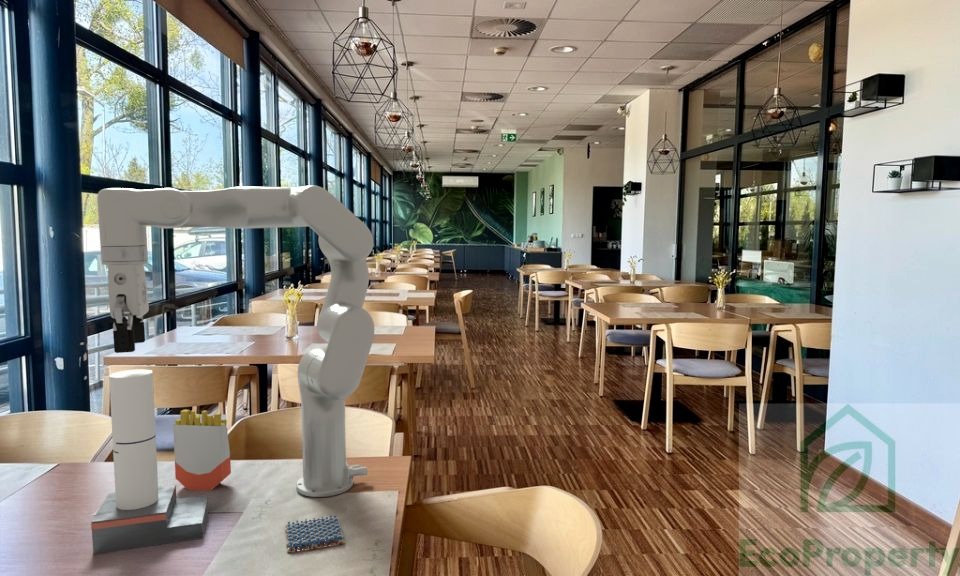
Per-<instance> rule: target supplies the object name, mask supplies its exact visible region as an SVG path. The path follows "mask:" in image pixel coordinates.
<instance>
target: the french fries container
mask: <svg viewBox="0 0 960 576" xmlns="http://www.w3.org/2000/svg"><path fill="white" fill-rule="evenodd" d="M174 421H175V422H174V424H172V430H173V448H174V449H173V452H174V471H175V472H174V473H175V480H177V481H178V483H180V484H181V486H183V487H184V488H185V489H186V490H187V489H188V490H191V491H210V490H213V489H214V488H216V487H217V486H218V485H220V484H221V483H222V482H223V481H224V480H225V479H226V478H228V476H230V475H231V473H232V468H231V467H232V465H231V464H232V463H231V452H230V451H231V449H230V443H229V435H228V434H229V433H228V427H227V421H228V420H227V419H226V418H225V419H224V418H223V419H222V412H221V413H220V412H216V413H214V414H213V415H212V414H208V410H202V411H201V416H200V414H198V413H196V410H195V409H193V410H190V409H183V410H180V418H179V419H176V420H174ZM219 483H220V484H219Z"/></svg>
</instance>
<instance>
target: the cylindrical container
mask: <svg viewBox="0 0 960 576" xmlns="http://www.w3.org/2000/svg"><path fill="white" fill-rule="evenodd" d="M153 375H154V372H153V370H151V369H139V368H138V369H127V370H121V371H116V372H113V373H111V374H109V375H108V379H109V398H110V413H111V414H110V417H111V420H110V421H111V433H112V434H111V435H112V450H113V451H112V455H113V469H114V470H113V471H114V472H113V473H114V476H113V477H114V492H115V495H116V507H117V508H118V509H122V510H134V509H140V508H144V507H147V506H149V505H152V504H154V503H155V502H156V501H157V500H158V499H159V497H158V487H159V481H158V480H159V479H158V478H159V477H158V459H157V458H158V457H157V456H158V455H157V454H158V453H157V437H156V418H155V417H156V414H155V396H154V395H155V394H154V393H155V392H154V376H153Z"/></svg>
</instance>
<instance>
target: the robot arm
mask: <svg viewBox="0 0 960 576" xmlns="http://www.w3.org/2000/svg"><path fill="white" fill-rule="evenodd" d="M96 198H97V200H96V202H97V216H98V231H99V232H98V233H99V241H100V242H99V244H100V245H99V246H100V259H101V260H100V261H101V265H103V266H104V265H106V266H107V285H108V286H107V290H108V304H109V305H108V306H109V315H110V317H111V318H112V319H113V320H112V321H113V324H112V330H113V331H112V334H113V335H112V336H113V346H114V347H113V348H114V349H113V350H114V353H116V354H119V353H120V354H121V353H134V352H135V351H136V344H139V343H140V344H141V343H144V342H145V341H146V334H145V333H146V331H145V322H144V316H145V315H146V314H147V313H148V312H149V310H150V307H149V296H148V295H149V294H148V287H147V285H148V284H147V277H146V271H145V267H144V266H145V265H144V264H149V253H148V251H149V250H148V237H147V227H155V228H158V229H180V228H181V229H182V228H185V229H186V228H225V229H236V230H238V229H271V228H302V227H303V228H304V227H305V228H306V227H309V229H311V230H313V232H314V233H315V234H317V236H318V245H319V249H320V250H321V252H322V254H323V255H324V256H325V258H326V259H327V261H328V263H329V266H330V267H329V268H330V272H331V273H330V274H331V275H330V280H329V285H328V289H327V292H326V295H325V297H324V300H323V304H322V306H321V309H320V313H319V315H318V319H317V322H316V330H317V331H316V332H317V333H318V335H319V336H320V338H321V339H322V340H324V341H325V342H327V345H326V346H327V347H316V348H313V349H310V350H308V351H306V352H305V354H303V355H302V357H301V359H300V361H299V363H298V366H297V381H298V382H297V383H298V390H299V394H300V404H301V406H300V407H301V444H302V445H301V446H302V449H301V451H302V477H301V478H299V479H297V481H296V484H295V488H296V492H298V493H299V494H301V495H302V496H307V497H311V498H312V497H313V498H325V497H331V496H332V497H333V496H336V495H340V494H343V493H345V492H347V491H349V490H350V489H351V488H352V487H353V485H354V477H358V476H359V477H363V476H368V468H367V466H361V465H360V464H354V465H350V464H348V462H347V455H346V453H347V452H346V451H347V450H346V449H347V448H346V447H347V446H346V404H345V399H346V398H348V397H350V396H351V395H353V393H354V392H355V391H356V390H357V388H358V386H359V384H360V383H361V380H362V377H363V373H364V371H365V367H366V365H367V361H368V357H369V355H370V352H371V348H372V345H373V343H374V339H375V322H374V320H373V317H372V315H371V314H370V313H369V312H368V311H367V310H366V309H364V308H363V307H364V304H365V299H366V296H367V291H368V290H369V289H368V288H369V282H370V273H369V272H370V271H369V267H368V262H367V261H366V258H368V257H369V255H370V254H371V253H372V251H373V248H374V237H373V234H372V232H371V230H370V229H369V227H368V226H367V225H366V224H365V223H364V222H363V221H362V220H361V219H360V218H358V216H356V215H355V214H354V213H353V212H352V211H351V210H350V209H349V208H348V207H346V206H345V205H344V204H343V203H342V202H341V201H340V200H338V198H337V197H335V196H334V195H333V194H332V193H331V192H329V190H327V189H325V188H323V187H321V186H318V185H314V184H313V185H312V184H311V185H304V186H234V187H227V188H224V189H223V188H221V189H215V190H214V189H212V190H179V189H176V188H172V187H164V188H163V187H161V188H153V189H152V188H151V189H136V188H128V187H127V188H126V187H125V188H124V187H122V188H121V187H110V188H109V187H108V188H103V189H100V190H99V191H98V193H97V197H96Z"/></svg>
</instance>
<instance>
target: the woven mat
mask: <svg viewBox="0 0 960 576" xmlns="http://www.w3.org/2000/svg"><path fill="white" fill-rule="evenodd" d="M295 521H296V522H295ZM295 521H292V524H291V523H290V522H291V521H287V524H286V525H285V529H284V530H285V531H284V532H285V538H286V539H287V543H286V544H285V546H287V548H286V552H287V553H289V552H292V553H298V552H297V549H298V550H300V551H299V552H302V551H301V550H302V549H303V550H305V549H311V550H316V549H319V548H318V547H323V548H325V547H324V546H329V545H335V546H339V545H340V546H341V545H344V544H345V543H346V540H344V539H343V538H344V533H343V532H342V531H343V529H342V525H341V523H340V519H339V517H337V516H336V515H334V516H332V515H331V514H330V515H329V517H328V516H326V517H325V518H324V516H321V517H320V518H317V519H316V517H313V518H312V519H309V520H307V518H306V519H304V520H300V522H299V520H298V519H297V520H295ZM300 527H301V528H300ZM305 527H306V528H305ZM331 531H332V532H331ZM301 533H302V534H301ZM305 535H306V536H305ZM302 538H303V539H302ZM297 539H298V540H297ZM325 540H326V541H325ZM320 541H321V542H320ZM329 542H330V543H329ZM324 543H326V544H324ZM320 544H321V545H320ZM292 545H293V546H292ZM307 546H309V547H307ZM297 547H299V548H297ZM329 547H330V546H329ZM288 548H289V549H288ZM293 548H295V549H293ZM312 548H313V549H312ZM287 549H288V550H287ZM294 551H295V552H294ZM305 551H306V550H305Z"/></svg>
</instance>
